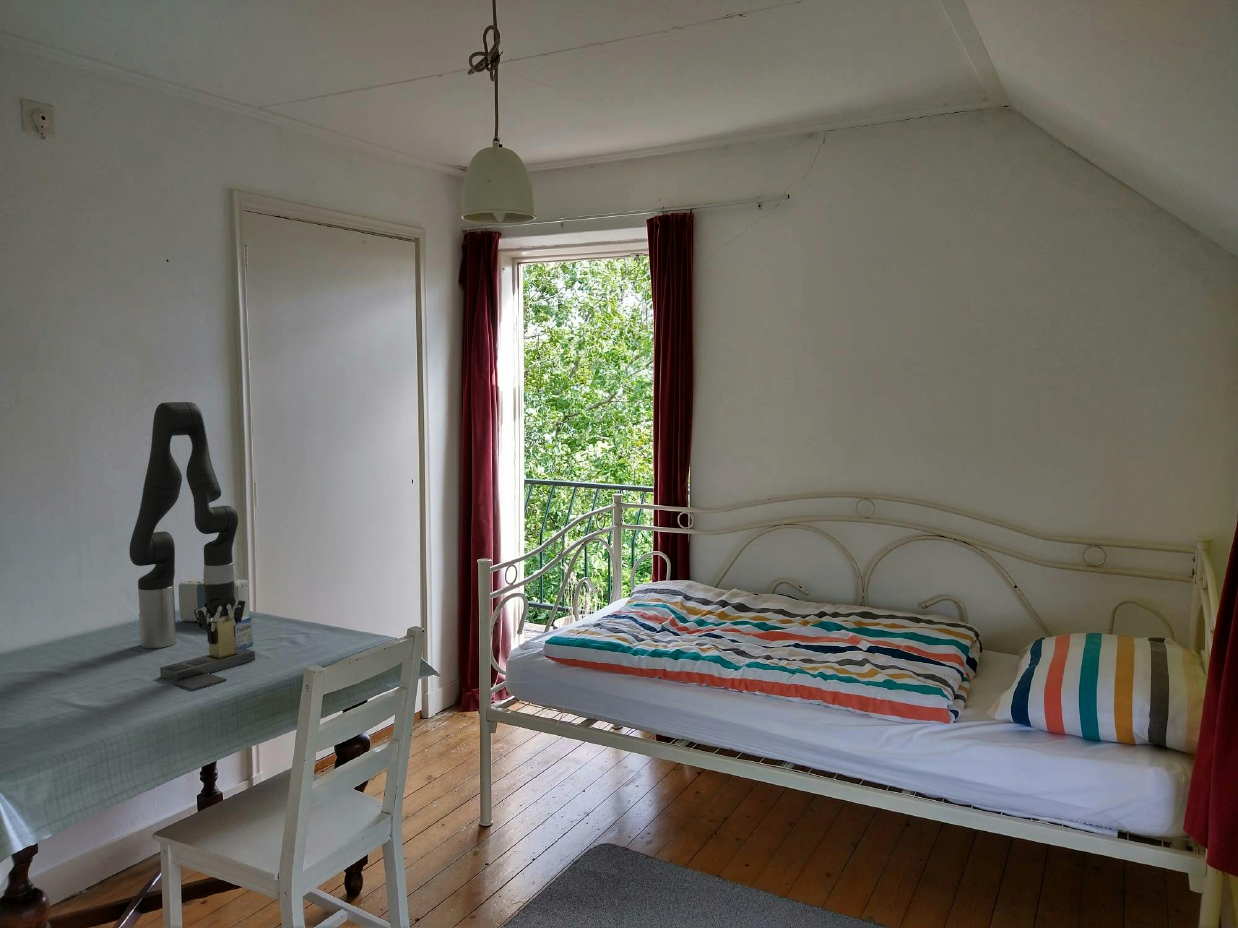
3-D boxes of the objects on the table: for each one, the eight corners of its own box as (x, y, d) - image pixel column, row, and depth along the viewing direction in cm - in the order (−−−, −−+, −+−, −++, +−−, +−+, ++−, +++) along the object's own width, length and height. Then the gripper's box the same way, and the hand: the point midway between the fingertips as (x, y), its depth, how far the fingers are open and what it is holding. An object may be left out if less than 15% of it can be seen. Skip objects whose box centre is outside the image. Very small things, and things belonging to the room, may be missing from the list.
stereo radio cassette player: (178, 623, 280) (175, 561, 278) (195, 616, 288) (192, 557, 286) (237, 625, 276) (234, 563, 274) (252, 618, 284) (250, 558, 283)
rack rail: (160, 676, 226) (160, 667, 225) (237, 655, 244) (237, 646, 244) (177, 682, 221) (177, 672, 221) (255, 660, 239) (254, 650, 239)
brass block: (209, 657, 235) (208, 621, 234) (225, 653, 239) (223, 618, 238) (219, 660, 233) (217, 624, 232) (234, 656, 236) (233, 620, 236)
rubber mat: (172, 684, 220) (172, 682, 220) (206, 674, 227) (206, 672, 227) (192, 690, 215) (192, 688, 215) (226, 680, 222) (226, 678, 222)
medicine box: (236, 653, 246) (235, 623, 245) (222, 652, 247) (221, 622, 246) (253, 645, 254) (252, 616, 253) (240, 644, 255) (238, 615, 254)
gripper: (235, 573, 242) (237, 633, 243) (185, 583, 230) (188, 645, 232) (251, 576, 238) (253, 637, 239) (201, 586, 226) (204, 650, 227)
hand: (221, 641), depth 235 cm, fingers closed on brass block, 4 cm apart
